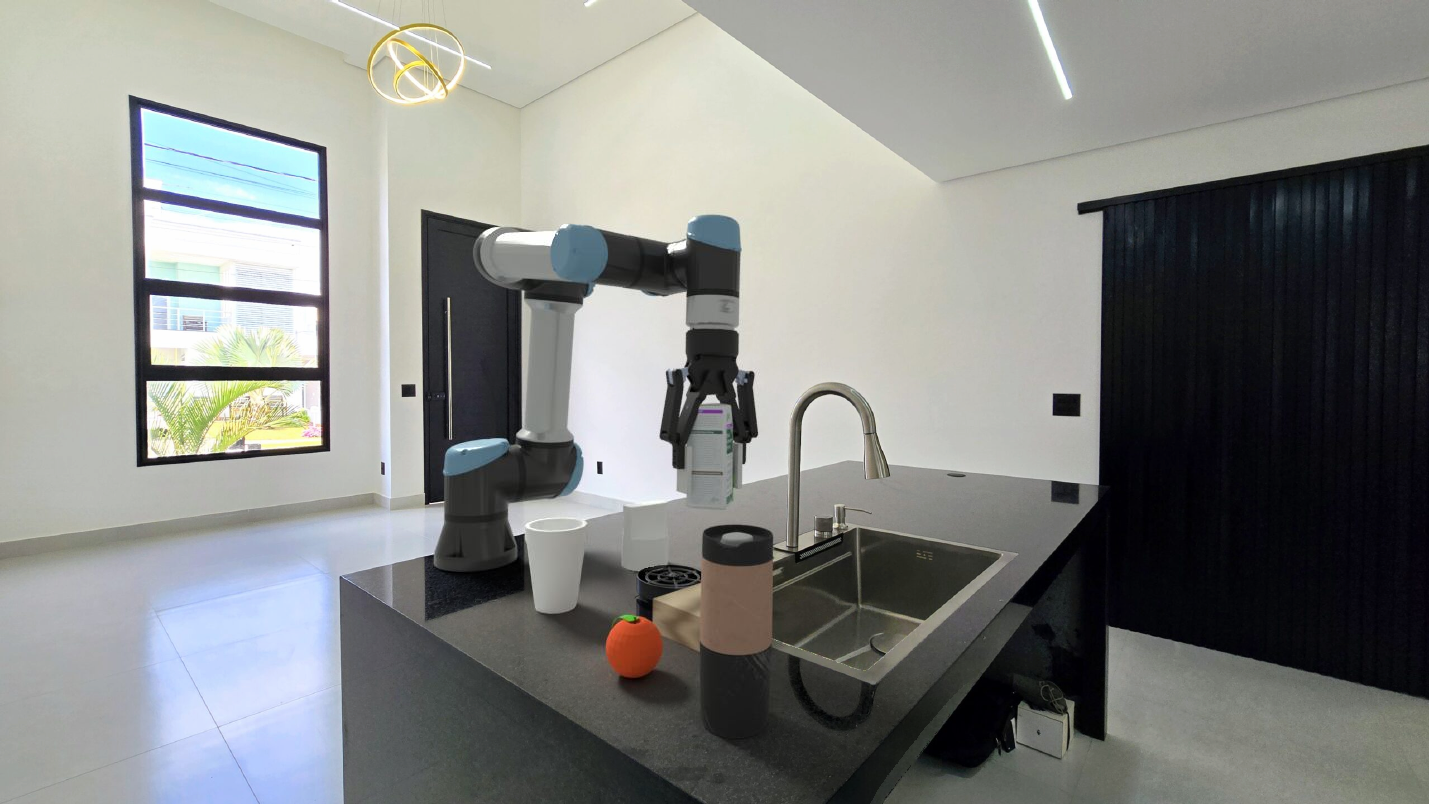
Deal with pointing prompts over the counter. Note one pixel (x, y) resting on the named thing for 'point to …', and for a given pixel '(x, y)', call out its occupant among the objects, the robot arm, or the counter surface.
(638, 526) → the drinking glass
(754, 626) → the travel mug
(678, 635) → the oak block
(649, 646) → the clementine
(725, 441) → the syrup box
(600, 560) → the counter surface
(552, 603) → the foam cup
